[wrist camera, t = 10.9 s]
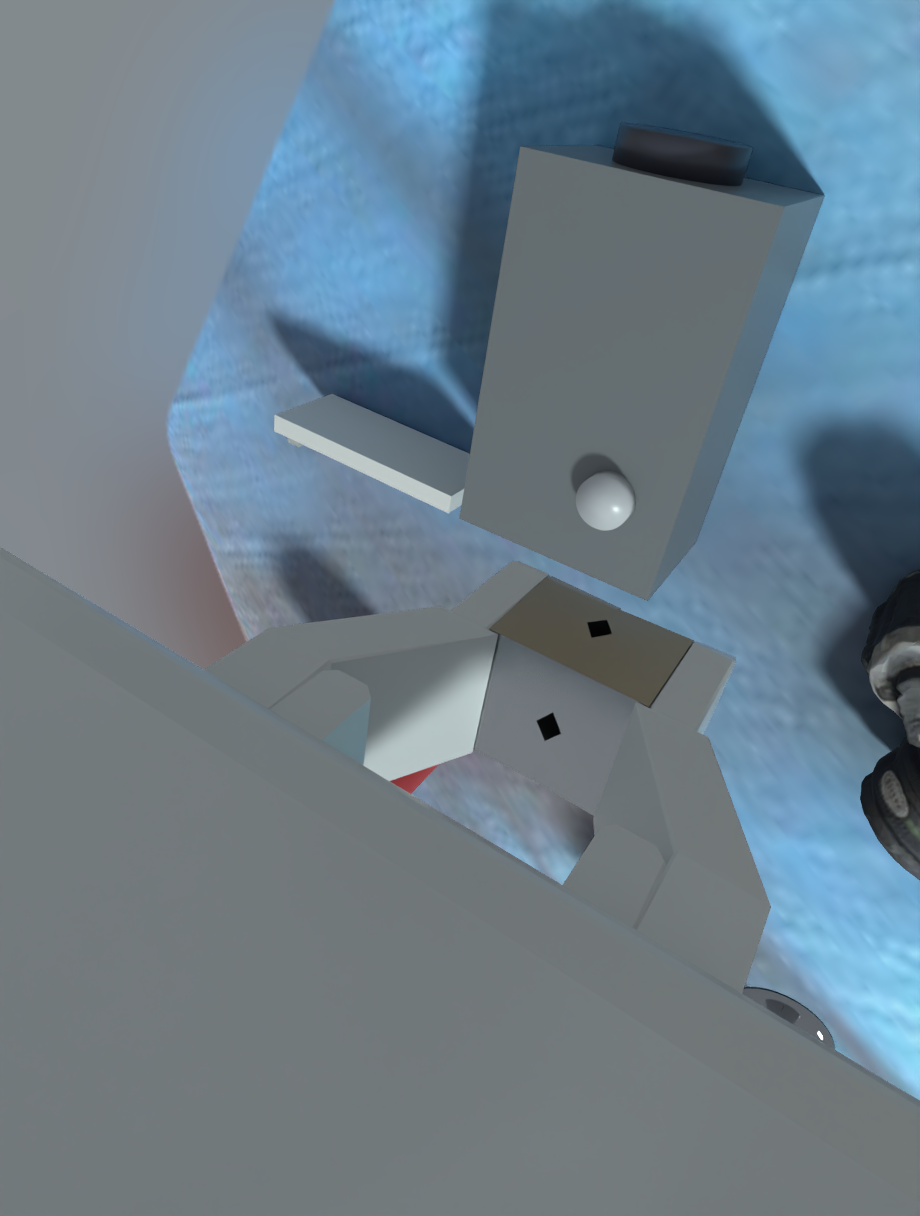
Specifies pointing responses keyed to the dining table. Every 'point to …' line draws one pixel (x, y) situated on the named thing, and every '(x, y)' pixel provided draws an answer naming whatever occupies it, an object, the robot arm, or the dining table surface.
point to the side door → (379, 449)
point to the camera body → (627, 346)
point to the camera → (916, 691)
